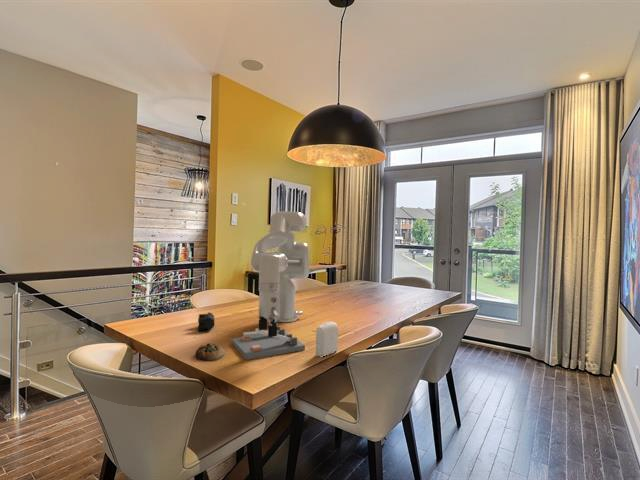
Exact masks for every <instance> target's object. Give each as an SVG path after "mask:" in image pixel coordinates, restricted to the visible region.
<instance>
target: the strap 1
mask: <svg viewBox="0 0 640 480" xmlns="http://www.w3.org/2000/svg"><path fill="white" fill-rule="evenodd" d="M279 330H281V328H280V329H277V334H279ZM242 335H243V337H250V336H261V335H264V334H260V333H257V332H256V331H244V332H242Z"/></svg>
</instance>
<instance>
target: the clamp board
mask: <svg viewBox="0 0 640 480" xmlns="http://www.w3.org/2000/svg"><path fill="white" fill-rule="evenodd" d="M277 329H280V330H279V335H283V336H287V337H292V338H291V342H290V341H286V340H283V339H279V338H275V337H269V336H268V335H261V336H250V337H245V336H241V337H235V338H234V337H233V338H231V345H232V346H233V347H234V348H235V349H236V350H237V352H238V353H240V354H241V355H242V357H243V358H244V359H245V360H246V361H249V360H255V359H261V358H268V357H273V356H278V355H284V353H285V354H290V352H291V353H296V352H295V351H297V352H302V351H305V350H306V349H305V348H306V345H305V344H304V343H303V342H301V341H299V340H298V337H296V336H294V337H293V334H292V333H288V332H286V331H285V329H284V328H282V329H281V326H279V325H277ZM301 350H302V351H301Z"/></svg>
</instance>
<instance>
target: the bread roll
mask: <svg viewBox="0 0 640 480" xmlns="http://www.w3.org/2000/svg"><path fill="white" fill-rule="evenodd" d="M194 354H195V359H197V360H199V361H208V360H209V361H216V360H221V359H222V358H223V357H224V356H225V354H226V350H225V349H224V348H223V347H222V346H219V345H216V344H214V343H212V344H211V343H207V344H206V345H203V344H201V345H200V346H199V347H198V349H196V351H195V353H194Z"/></svg>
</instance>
